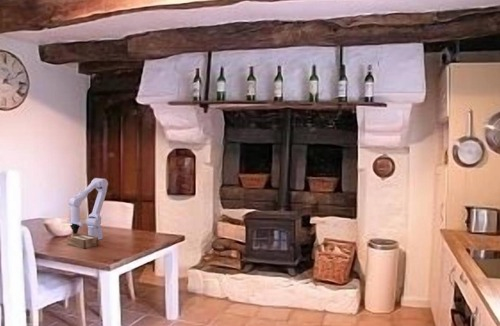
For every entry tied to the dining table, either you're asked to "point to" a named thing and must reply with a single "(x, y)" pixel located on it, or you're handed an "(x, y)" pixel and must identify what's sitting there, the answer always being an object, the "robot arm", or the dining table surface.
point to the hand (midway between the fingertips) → (75, 234)
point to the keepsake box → (83, 242)
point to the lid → (80, 236)
